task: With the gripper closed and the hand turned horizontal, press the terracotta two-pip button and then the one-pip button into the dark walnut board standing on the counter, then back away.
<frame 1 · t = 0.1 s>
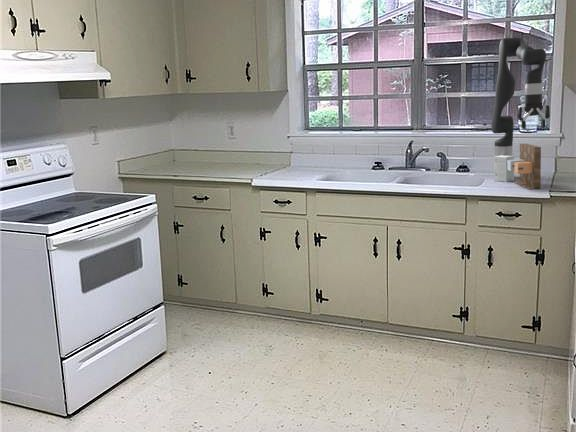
hand: (533, 128, 308), 29 cm above the worktop, tool pointing down, fingers open, 8 cm apart
small box: (504, 181, 347), on the worktop
button one: (518, 165, 329), point 10 cm above the worktop, slide at 0.0 cm
button two: (525, 167, 319), point 10 cm above the worktop, slide at 0.0 cm
walnut board: (529, 185, 326), on the worktop
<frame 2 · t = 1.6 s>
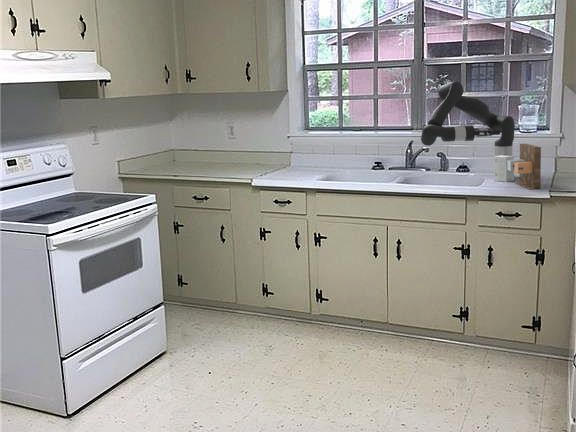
hand: (497, 131, 315), 28 cm above the worktop, tool horizontal, fingers open, 7 cm apart
nothing on the worktop moved.
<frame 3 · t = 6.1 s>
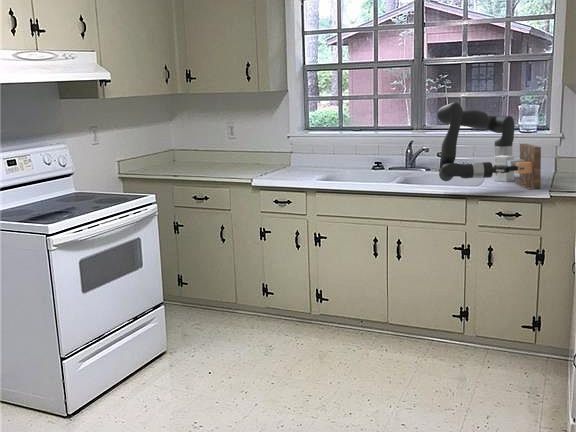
hand: (517, 168, 319), 10 cm above the worktop, tool horizontal, fingers closed
button two: (526, 167, 319), point 10 cm above the worktop, slide at 0.5 cm, touching gripper
everything else where it was.
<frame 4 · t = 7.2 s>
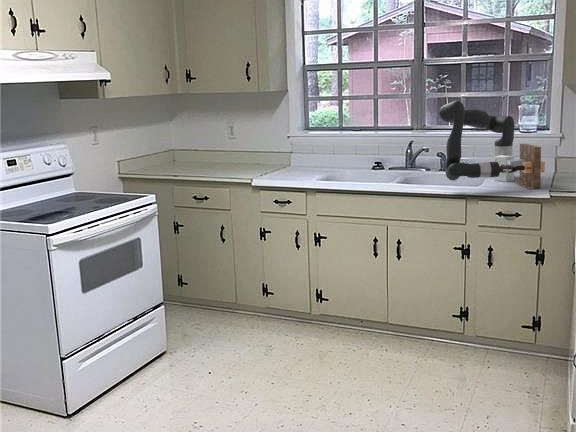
hand: (524, 167, 319), 10 cm above the worktop, tool horizontal, fingers closed
button two: (533, 167, 318), point 10 cm above the worktop, slide at 3.8 cm, touching gripper
everything else where it was.
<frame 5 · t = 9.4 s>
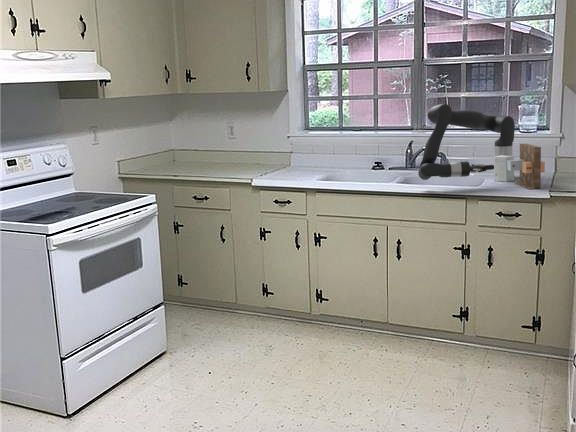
hand: (493, 167, 329), 10 cm above the worktop, tool horizontal, fingers closed
button two: (533, 167, 318), point 10 cm above the worktop, slide at 3.8 cm
everything else where it was.
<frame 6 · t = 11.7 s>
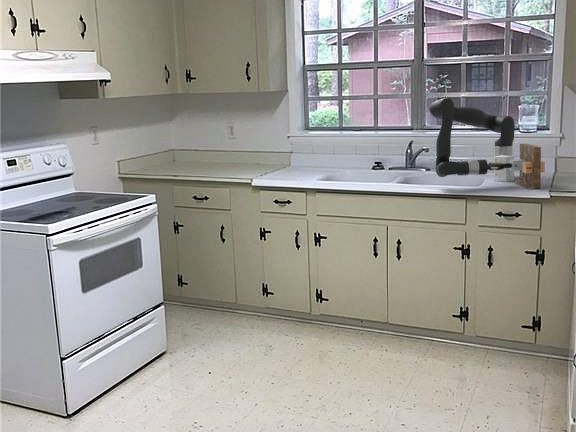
hand: (511, 165, 330), 10 cm above the worktop, tool horizontal, fingers closed
button one: (520, 164, 329), point 10 cm above the worktop, slide at 1.2 cm, touching gripper
everything else where it was.
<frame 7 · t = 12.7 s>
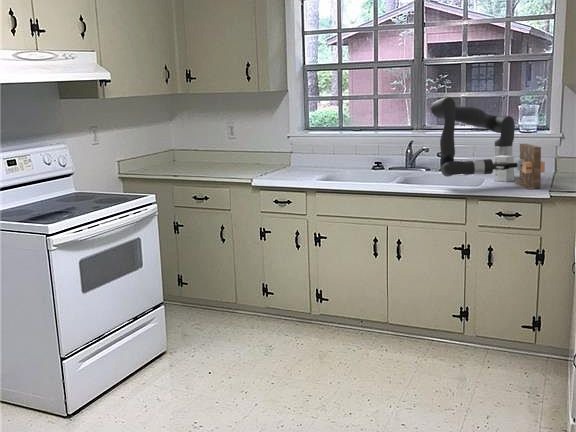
hand: (516, 165, 330), 10 cm above the worktop, tool horizontal, fingers closed
button one: (525, 164, 329), point 10 cm above the worktop, slide at 3.9 cm, touching gripper
everything else where it was.
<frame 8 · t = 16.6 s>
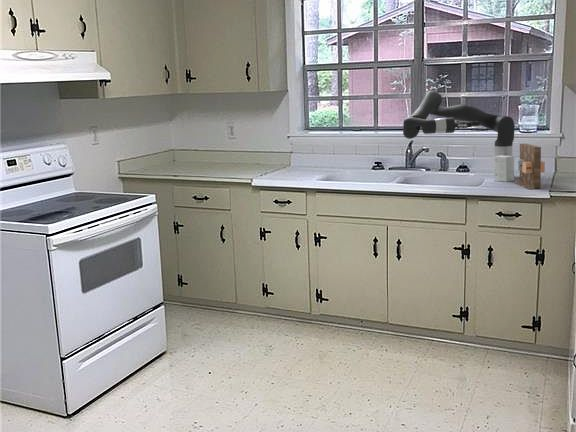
hand: (479, 123, 323), 32 cm above the worktop, tool horizontal, fingers closed
button one: (525, 164, 329), point 10 cm above the worktop, slide at 3.9 cm
everything else where it was.
at the end: button two slide at 3.8 cm; button one slide at 3.9 cm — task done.
